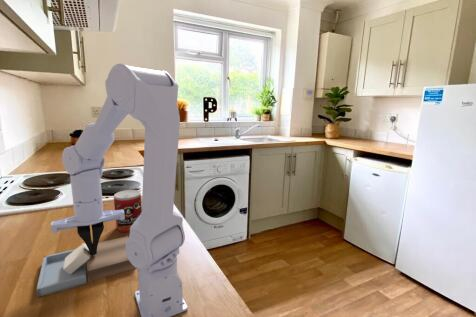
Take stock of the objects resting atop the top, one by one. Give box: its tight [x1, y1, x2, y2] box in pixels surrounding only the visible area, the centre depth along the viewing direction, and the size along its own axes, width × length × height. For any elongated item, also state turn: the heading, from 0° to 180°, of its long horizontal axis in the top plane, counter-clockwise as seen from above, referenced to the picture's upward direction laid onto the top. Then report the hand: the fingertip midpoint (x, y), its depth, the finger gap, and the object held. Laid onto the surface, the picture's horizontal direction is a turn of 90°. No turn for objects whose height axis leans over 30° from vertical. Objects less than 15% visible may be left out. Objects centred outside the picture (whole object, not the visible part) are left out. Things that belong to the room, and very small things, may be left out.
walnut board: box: [86, 235, 136, 282], centre depth 63 cm, size 12×10×2 cm
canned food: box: [113, 189, 142, 233], centre depth 80 cm, size 8×8×11 cm
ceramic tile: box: [63, 242, 90, 274], centre depth 60 cm, size 5×5×2 cm
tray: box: [36, 248, 88, 298], centre depth 58 cm, size 13×8×2 cm, turn 31°
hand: (93, 252), depth 61 cm, fingers closed
